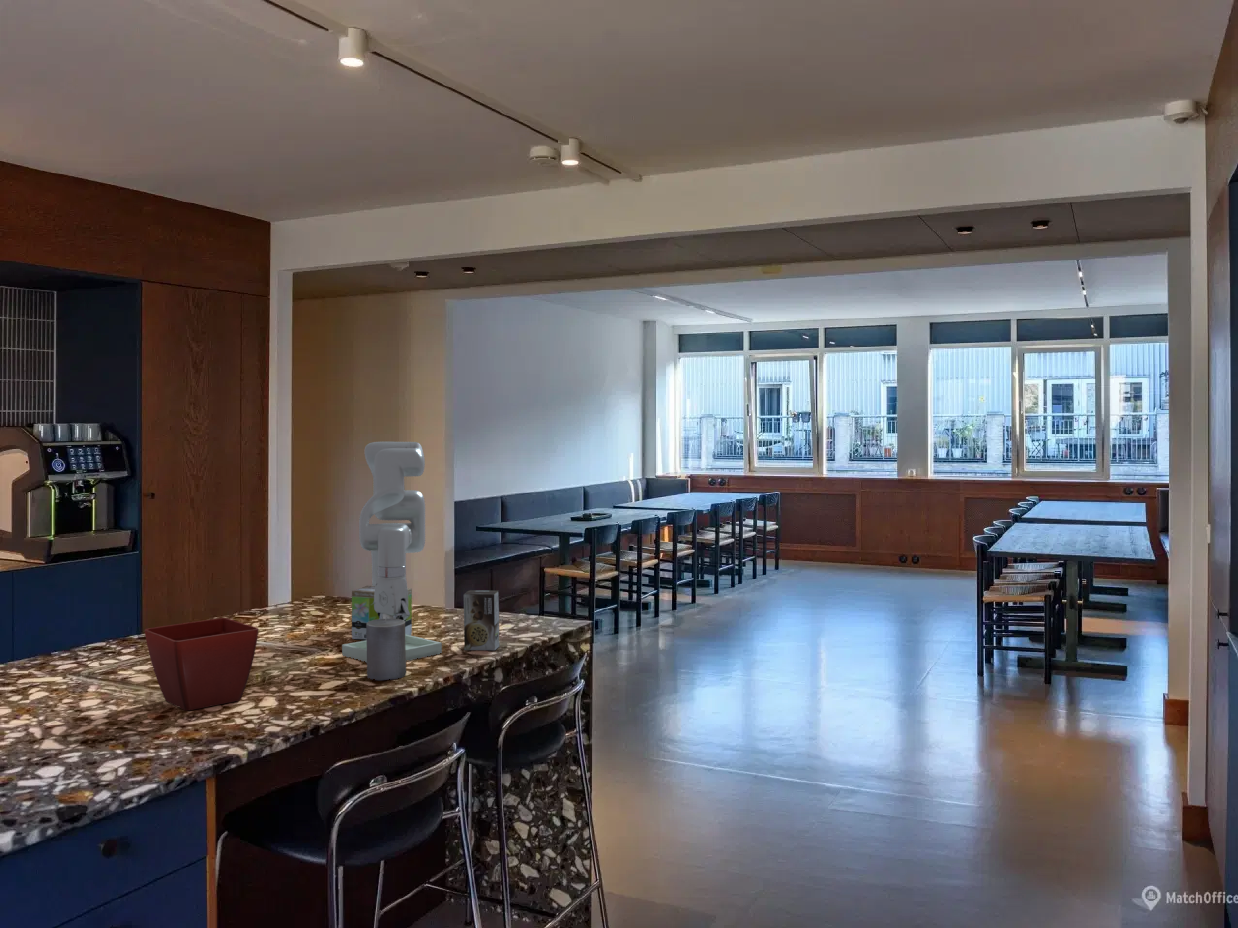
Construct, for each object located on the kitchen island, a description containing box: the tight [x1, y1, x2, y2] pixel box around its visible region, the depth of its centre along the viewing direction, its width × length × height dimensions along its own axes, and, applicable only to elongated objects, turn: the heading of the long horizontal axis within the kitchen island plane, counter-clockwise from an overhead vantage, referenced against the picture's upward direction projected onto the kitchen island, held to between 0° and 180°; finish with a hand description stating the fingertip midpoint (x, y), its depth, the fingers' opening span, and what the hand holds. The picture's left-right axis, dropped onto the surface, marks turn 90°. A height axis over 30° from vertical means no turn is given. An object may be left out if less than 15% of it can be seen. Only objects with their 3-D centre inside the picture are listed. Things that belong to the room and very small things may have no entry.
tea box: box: [351, 585, 413, 641], centre depth 300 cm, size 15×10×15 cm, turn 76°
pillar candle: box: [366, 617, 407, 681], centre depth 256 cm, size 10×10×15 cm
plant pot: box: [144, 617, 259, 711], centre depth 232 cm, size 19×19×17 cm
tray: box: [341, 634, 443, 663], centre depth 279 cm, size 18×20×3 cm
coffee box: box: [463, 589, 500, 651], centre depth 288 cm, size 9×6×16 cm
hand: (392, 637), depth 279 cm, fingers closed on shaker, 4 cm apart
